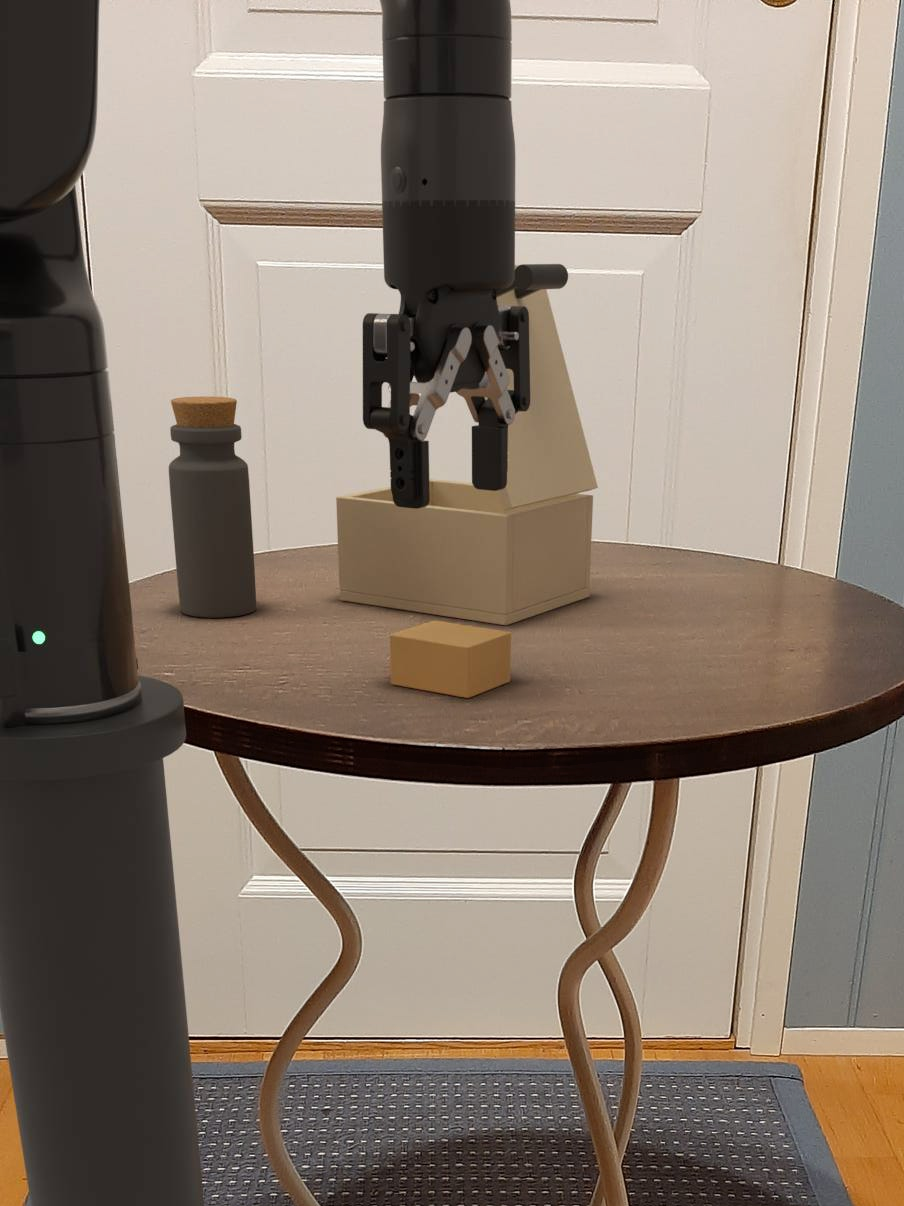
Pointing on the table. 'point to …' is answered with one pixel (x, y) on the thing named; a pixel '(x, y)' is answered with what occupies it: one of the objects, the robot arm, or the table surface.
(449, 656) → the tan cardboard carton
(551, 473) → the hinged handled lid
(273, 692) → the table surface
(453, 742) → the table surface
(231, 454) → the bottle
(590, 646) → the table surface
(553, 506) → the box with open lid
